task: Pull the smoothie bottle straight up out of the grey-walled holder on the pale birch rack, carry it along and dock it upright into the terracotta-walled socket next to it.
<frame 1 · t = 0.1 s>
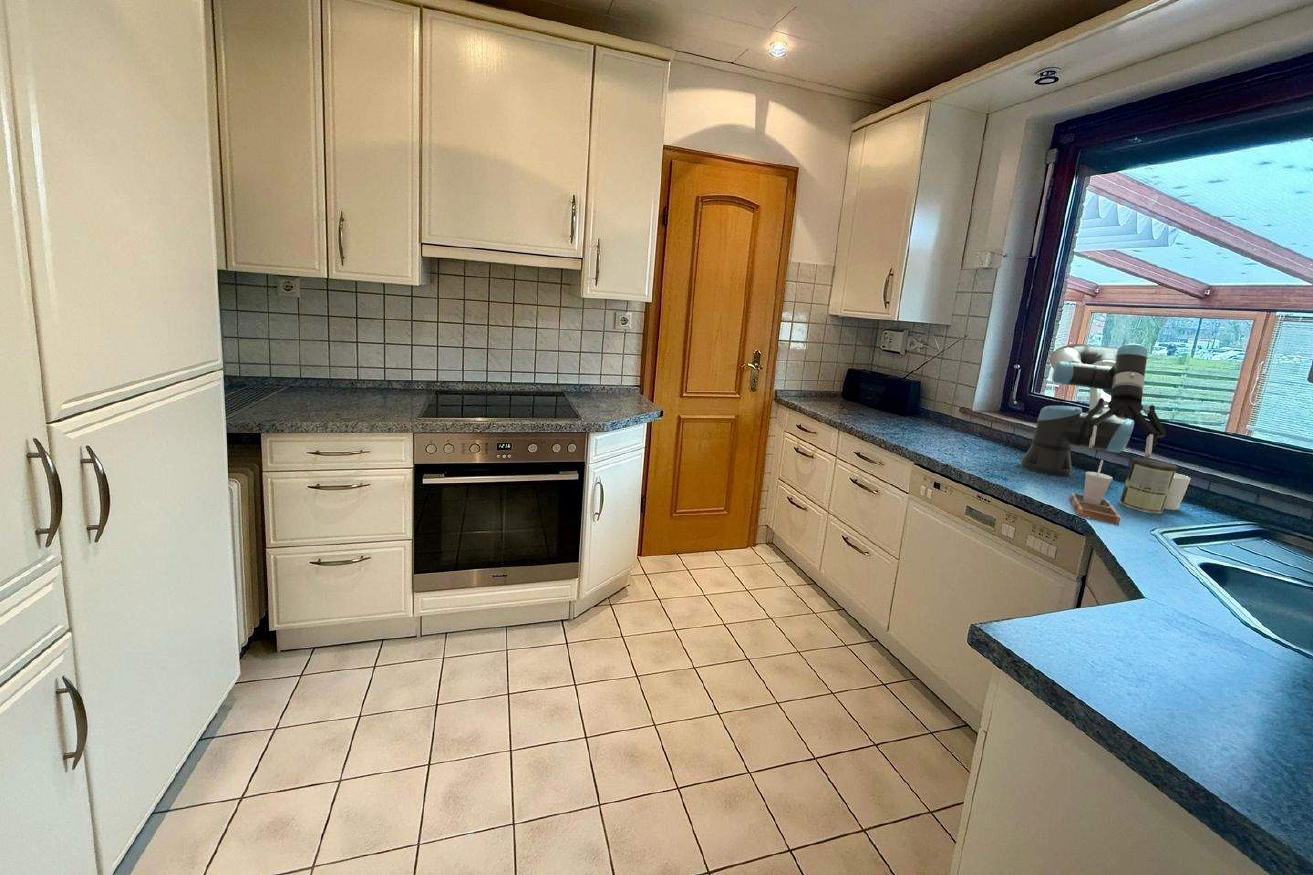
hand: (1119, 451, 173), 15 cm above the worktop, tool tilted 35°, fingers open, 13 cm apart
dock rack: (1092, 510, 164), on the worktop
smoothie: (1089, 507, 168), resting in dock rack
white cup: (1162, 506, 176), on the worktop
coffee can: (1140, 508, 172), on the worktop
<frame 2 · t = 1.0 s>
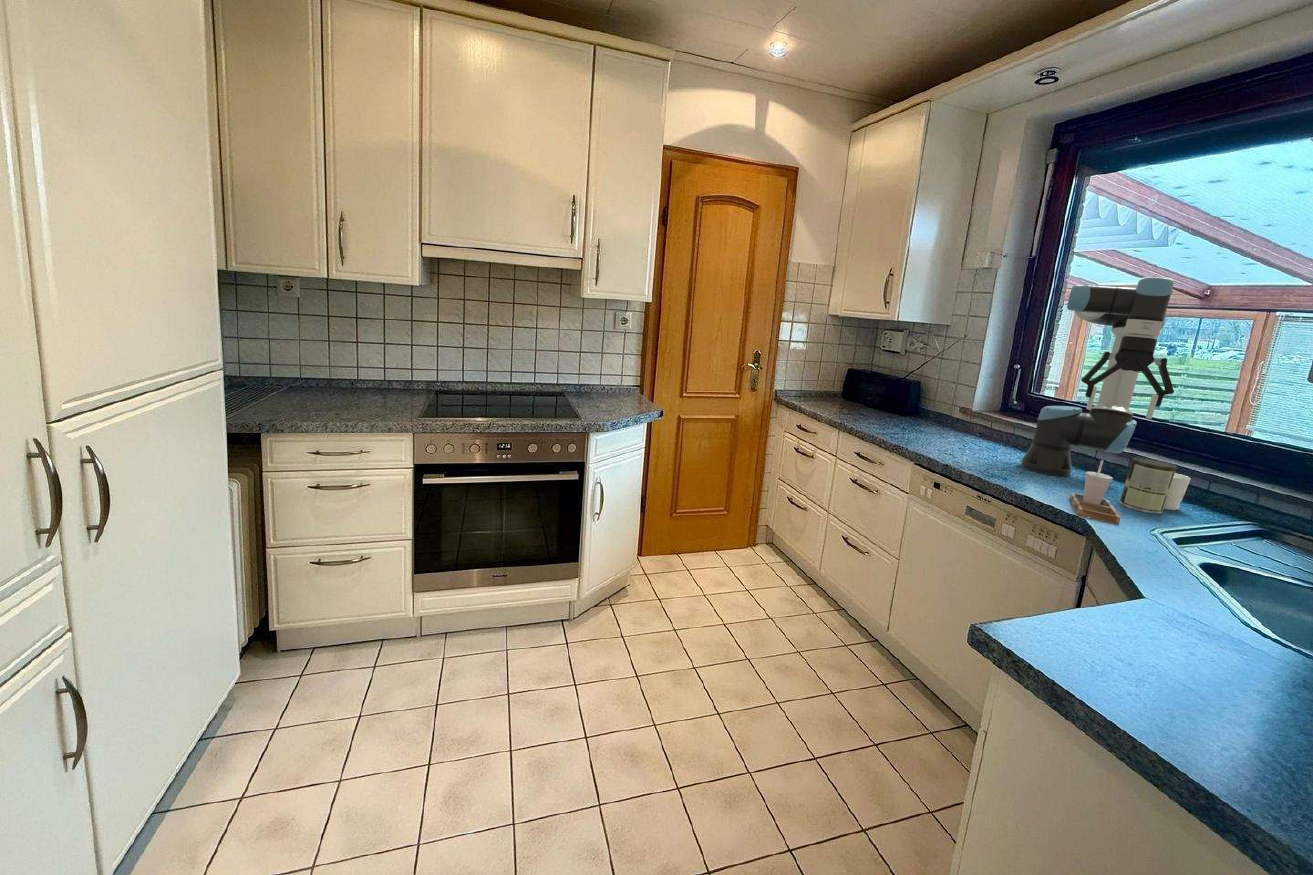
hand: (1117, 413, 162), 27 cm above the worktop, tool pointing down, fingers open, 13 cm apart
nothing on the worktop moved.
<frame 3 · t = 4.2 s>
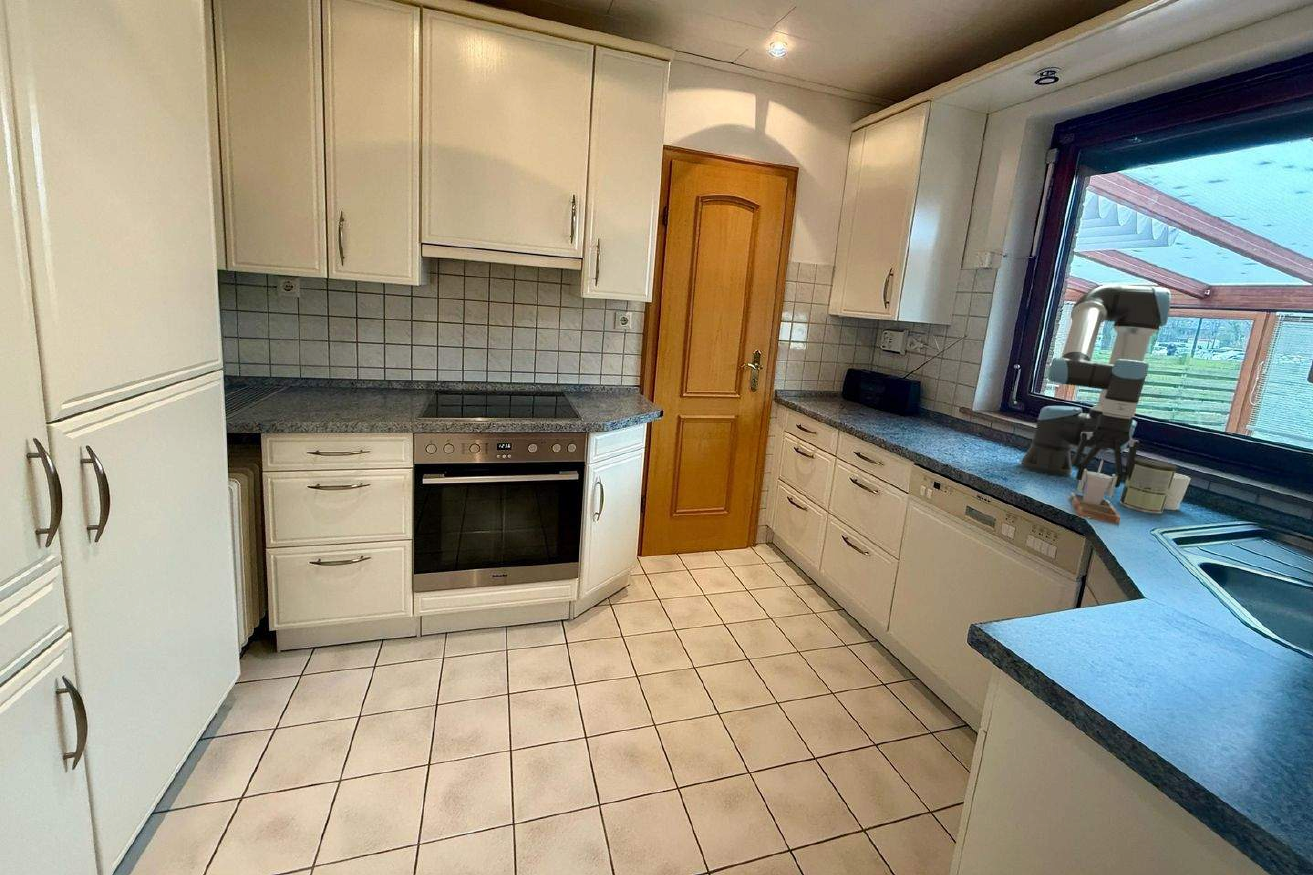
hand: (1093, 493, 167), 4 cm above the worktop, tool pointing down, fingers closed on smoothie, 6 cm apart
smoothie: (1089, 507, 168), resting in dock rack, touching gripper
everything else where it was.
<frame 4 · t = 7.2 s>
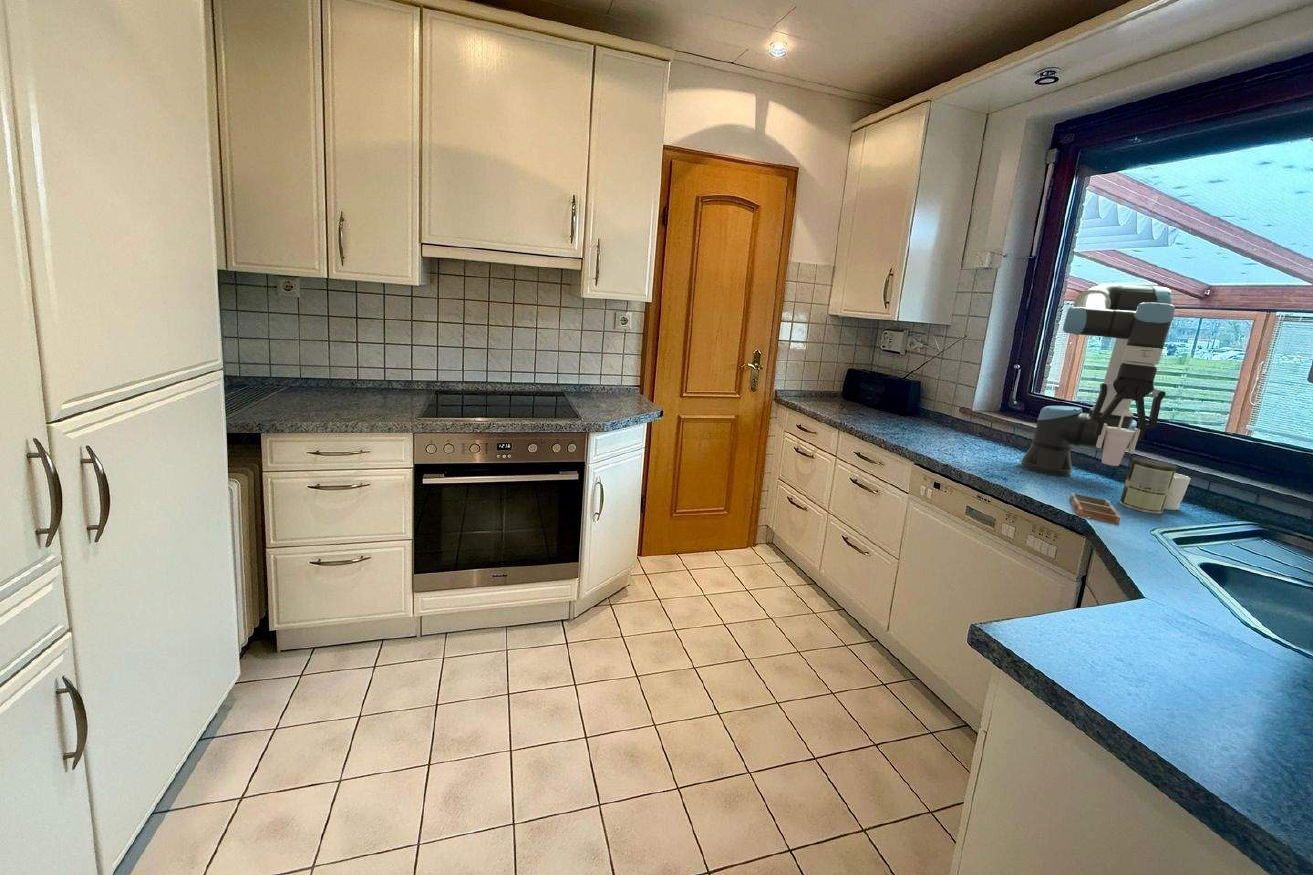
hand: (1114, 449, 156), 19 cm above the worktop, tool pointing down, fingers closed on smoothie, 6 cm apart
smoothie: (1109, 464, 157), point 15 cm above the worktop, touching gripper
everything else where it was.
when the fingers open (5 cm above the worktop, at t = 10.4 s): smoothie stays where it is, resting in dock rack.
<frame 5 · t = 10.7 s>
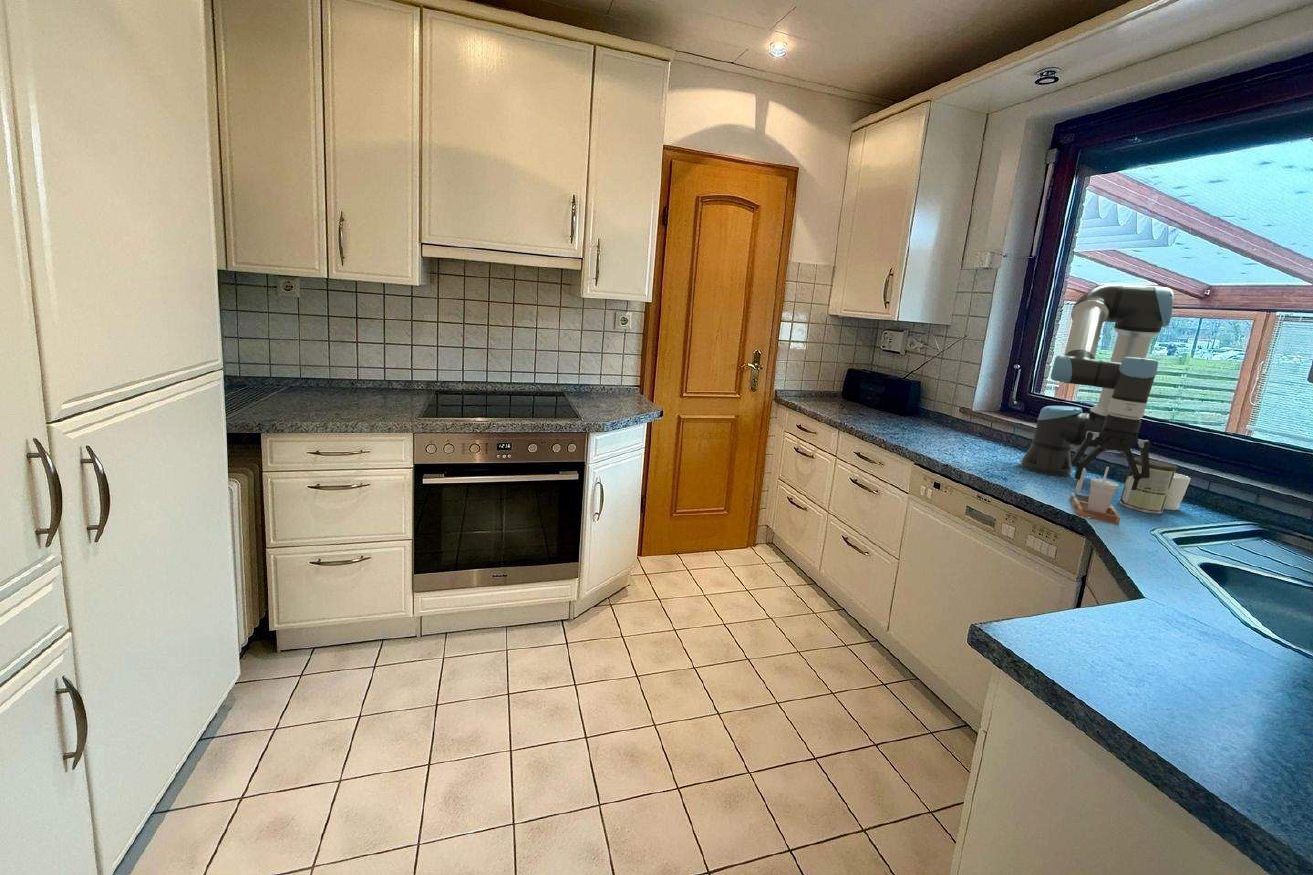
hand: (1100, 495, 159), 6 cm above the worktop, tool pointing down, fingers open, 10 cm apart
smoothie: (1094, 515, 160), resting in dock rack
everything else where it was.
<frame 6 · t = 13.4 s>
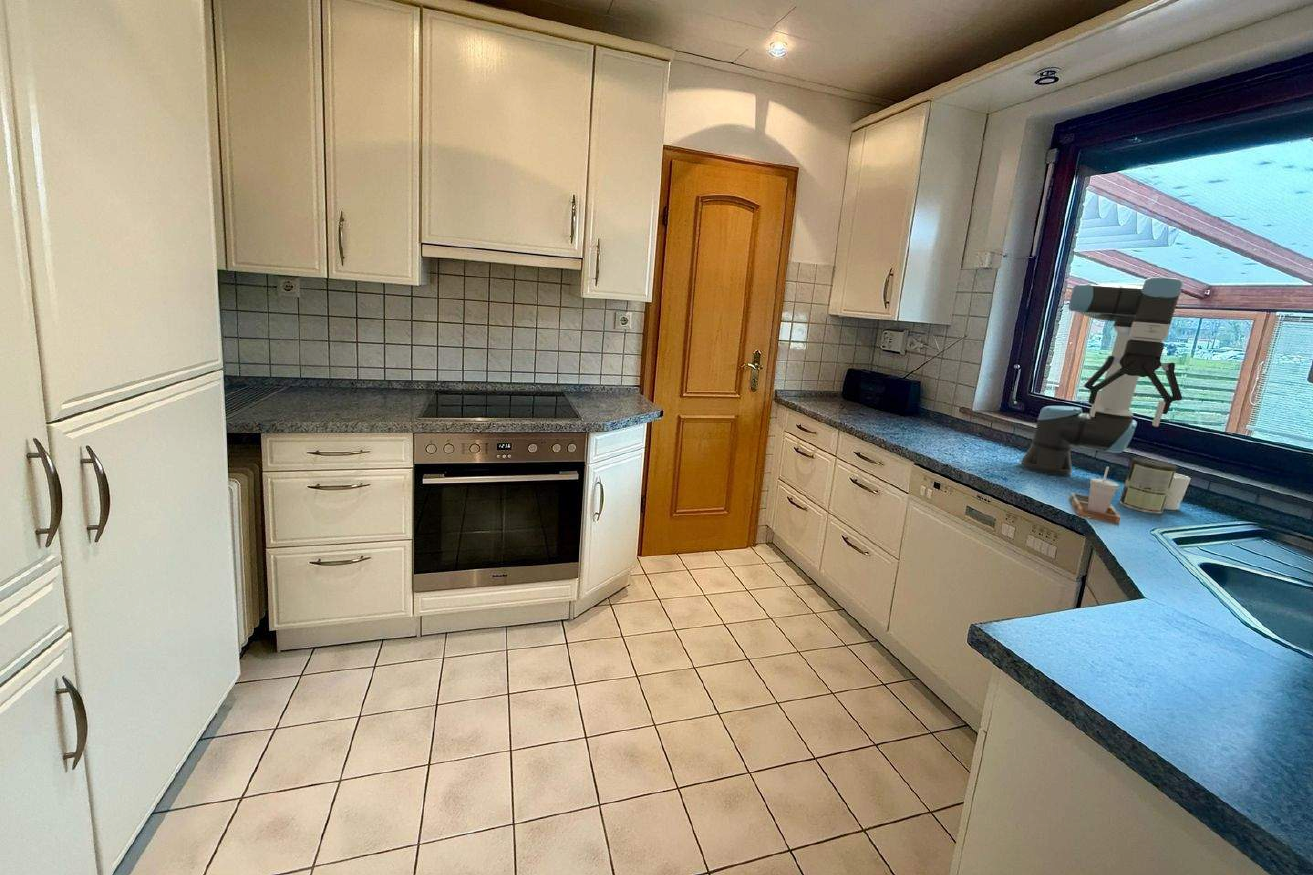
hand: (1122, 421, 154), 27 cm above the worktop, tool pointing down, fingers open, 13 cm apart
nothing on the worktop moved.
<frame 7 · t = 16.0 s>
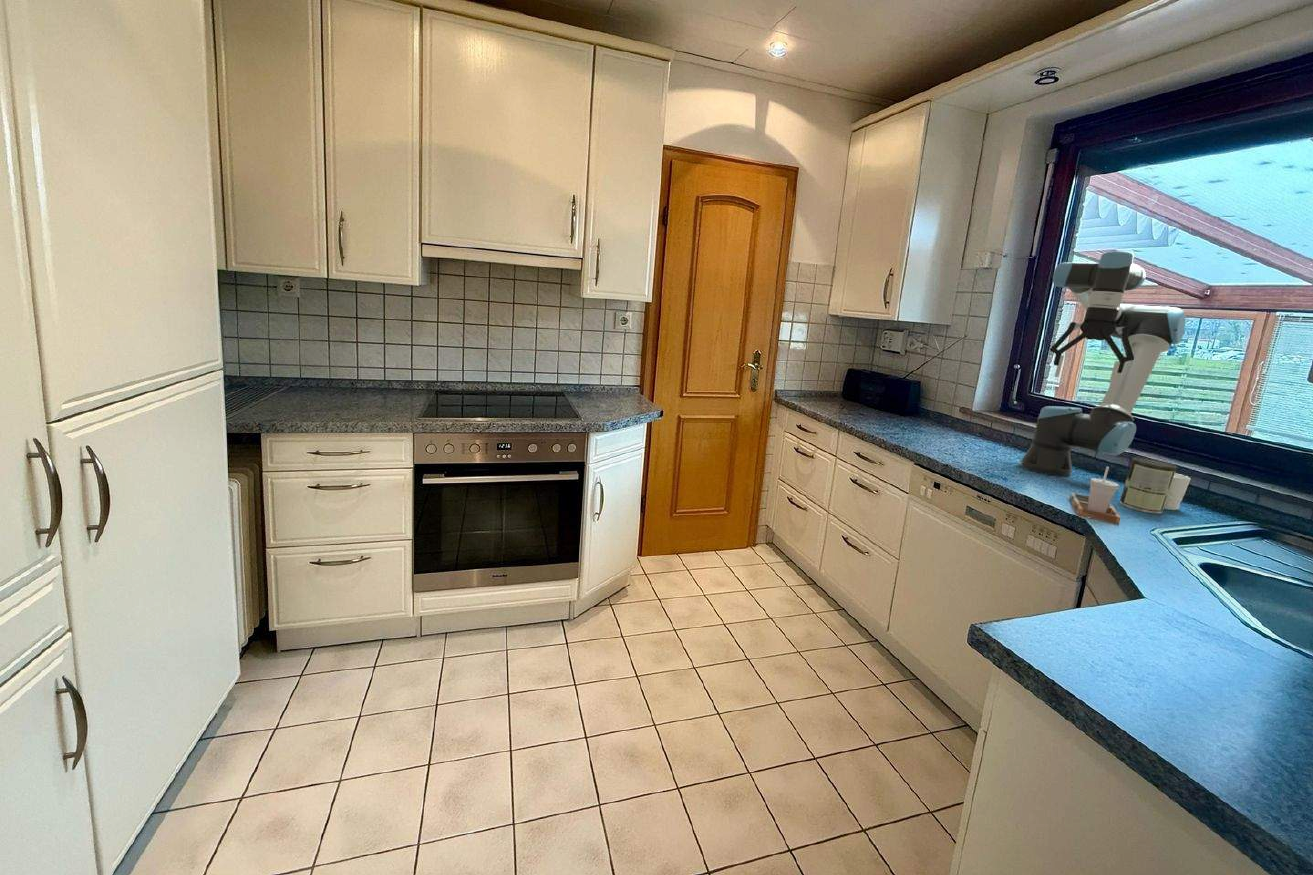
hand: (1083, 380, 173), 35 cm above the worktop, tool pointing down, fingers open, 13 cm apart
nothing on the worktop moved.
at the end: smoothie 0.0 cm from the target spot on the dock rack, point 0.0 cm above the dock rack's base; smoothie tilted 0°; the gripper is holding nothing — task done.
